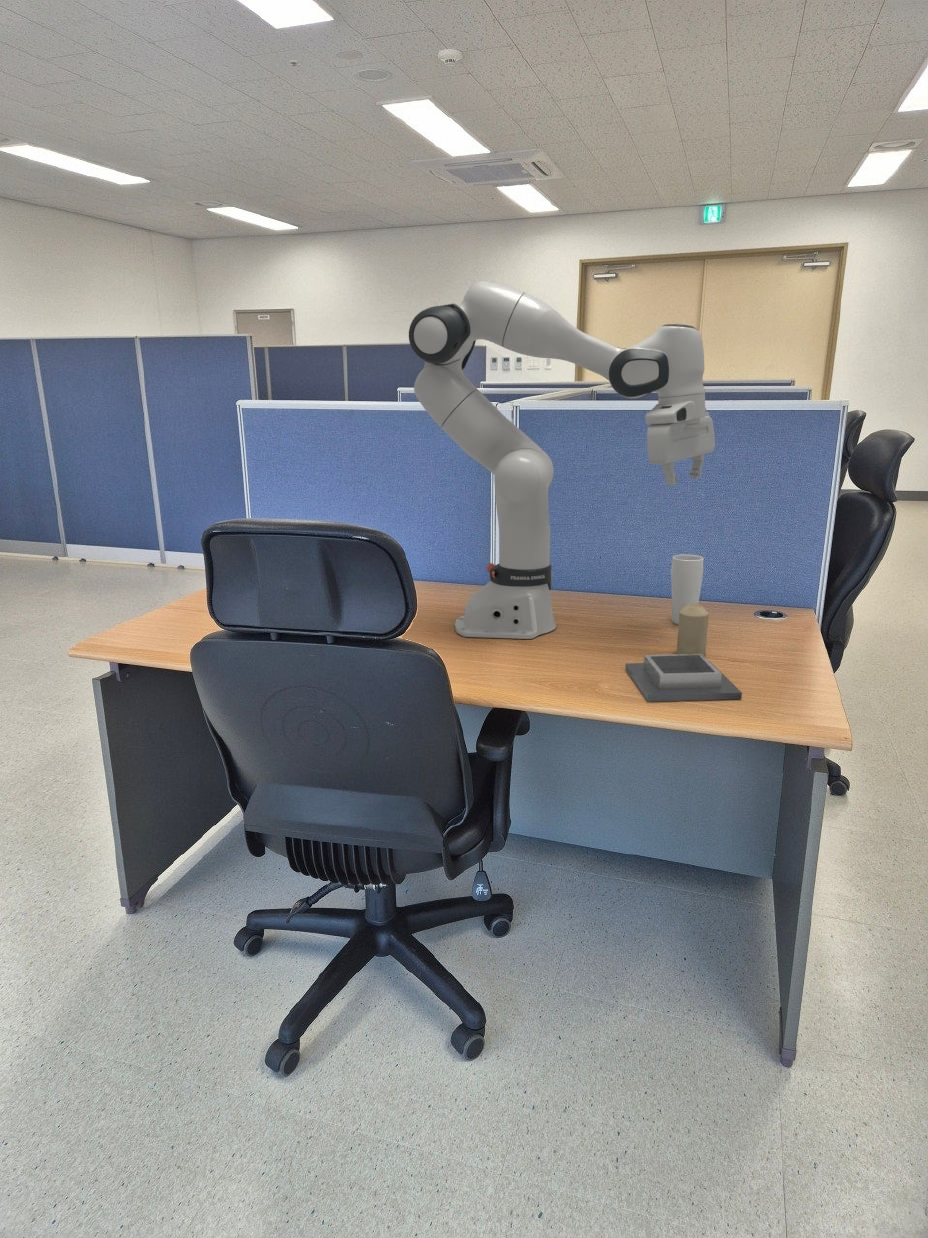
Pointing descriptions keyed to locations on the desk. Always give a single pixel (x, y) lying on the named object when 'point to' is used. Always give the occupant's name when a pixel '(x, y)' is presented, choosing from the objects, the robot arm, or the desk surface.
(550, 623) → the robot arm
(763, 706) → the desk surface
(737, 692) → the candle stand
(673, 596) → the drinking glass
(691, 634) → the candle
